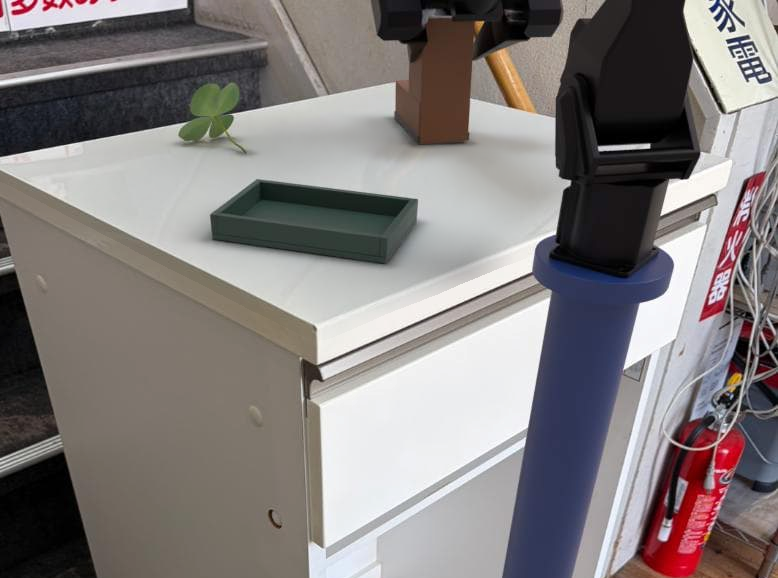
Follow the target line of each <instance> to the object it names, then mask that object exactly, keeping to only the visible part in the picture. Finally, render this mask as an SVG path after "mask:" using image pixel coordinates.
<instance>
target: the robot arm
mask: <svg viewBox="0 0 778 578" xmlns="http://www.w3.org/2000/svg"><path fill="white" fill-rule="evenodd" d="M370 4H371V10H372V15H373V21H374V26H375V27H374V28H375V32H376V36H377V37H378V38H379V39H380V40H382V41H383V42H391V41H393V42H394V41H395V42H397V41H398V42H399V43H400V44H401V45H406V49H407V51H406V52H407V57H408V63H409V62H410V63H413V62H414V61H415V60H416V59H417V58H418V56H419V55H420V53H421V52H422V50H423V49H424V47H425V46H426V44H427V43H428V38H427V32H426V26H425V25H426V23H427V22H428V19H430V18H452V21H453V22H475V23H476V22H483V23H482V25H481V26H480V29H479V31H478V33H477V35H476V37H475V38H474V44H473V60H472V62H475V61H476V62H477V61H478V60H481V59H483V58H485V57H487V56H490V55H491V54H494V53H497V52H498V51H499V52H500V51H501V50H504V49H507V48H508V47H511V46H514V45H516V44H519V43H523V42H524V43H525V42H529V41H530V39H531V38H533V39H534V38H552V37H553V36H554V34H555V33H556V31H557V30H558V28H559V27H560V25H561V24H562V22H563V18H564V12H565V11H564V5H563V4H564V3H563V0H370ZM685 6H686V0H604V1H603V2H602V4H601V5H600V6H599V8H598V9H597V11H596V12H595V13H594V14H593V16H592V17H588V18H587V17H586V18H584V17H583V18H582V17H581V18H578V19H577V20H576V21H575V23H574V24H573V27H572V29H571V31H570V34H569V41H568V49H567V54H566V60H565V64H564V68H563V71H562V74H561V76H560V79H559V83H560V85H559V87H558V90H557V94H556V96H555V116H554V117H555V119H554V121H555V122H554V123H555V124H554V125H555V128H554V129H555V132H554V157H555V168H556V169H557V170H558V178H560V179H561V180H566V181H570V185H568V186H566V187H565V188H564V189H562V190H563V191H562V195H561V201H560V207H559V212H558V213H559V214H558V218H557V225H556V231H555V235H556V236H555V241H556V243H557V244H560V245H558V246H557V247H555V248H554V249H552V250H550V254H549V257H550V258H551V259H554V260H558V261H561V262H565V263H569V264H572V265H576V266H579V267H583V268H586V269H590V270H594V271H597V272H601V273H604V274H608V275H612V276H615V277H619V278H625V279H626V278H629V277H631V276H632V275H633V274H634V273H636V272H637V271H638V270H640V269H641V268H642V267H644V266H645V265H646V264H647V263H649V262H650V261H651V260H653V259H654V258H655V257H657V256H658V253H659V249H658V248H656V247H653V245H655V244H654V243H655V241H656V240H655V239H656V236H657V232H658V227H659V223H660V219H661V215H662V211H663V207H664V203H665V199H666V196H667V191H668V187H669V183H670V180H680V181H685V180H689V179H690V177H691V175H692V173H693V172H694V170H695V169H696V166H697V164H698V162H699V160H700V158H701V154H702V153H701V147H700V142H699V137H698V133H697V128H696V123H695V119H694V114H693V109H692V105H691V101H690V95H689V91H688V89H689V84H690V79H691V76H692V75H691V74H692V69H693V64H694V51H693V47H692V43H691V38H690V34H689V29H688V25H687V20H686V16H685ZM636 145H637V146H638V145H649V148H648V147H647V148H632V149H631V148H630V149H615V150H614V149H613V150H599V147H617V146H619V147H620V146H636Z"/></svg>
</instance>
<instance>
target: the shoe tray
mask: <svg viewBox="0 0 778 578" xmlns="http://www.w3.org/2000/svg"><path fill="white" fill-rule="evenodd" d="M418 207H419V199H418V198H413V197H404V196H398V195H388V194H380V193H375V192H374V193H372V192H365V191H356V190H349V189H342V188H333V187H325V186H317V185H309V184H300V183H293V182H285V181H276V180H268V179H262V178H261V179H259V178H256V179H255V180H254V181H252V182H251V183H250V184H248V185H247V186H245V187H244V188H243V189H242V190H241V191H239V192H238V193H236V194H235V195H234V196H232V197H231V198H229V199H228V200H227V201H225V203H223V204H222V205H220V206H219V207H218V208H217V209H215V210H214V211H212V212H211V213H210V214H209V219H210V231H211V238H212V239H211V240H215V241H216V240H217V241H223V242H229V243H237V244H244V245H252V246H258V247H265V248H274V249H279V250H280V249H281V250H287V251H288V250H289V251H293V252H300V253H307V254H316V255H323V256H329V257H337V258H343V259H351V260H357V261H363V262H364V261H365V262H370V263H371V262H372V263H379V264H387V263H388V262H389V261H390V260H391V258H392V257H393V255H394V254H395V252H396V251H397V250H398V249H399V248H400V245H401V244H402V243H403V242H404V240H405V239H406V238H407V236H408V235H409V234H410V232H411V231H412V229H414V227H415V226H416V224H417V222H418Z"/></svg>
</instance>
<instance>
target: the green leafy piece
mask: <svg viewBox="0 0 778 578" xmlns="http://www.w3.org/2000/svg"><path fill="white" fill-rule="evenodd" d="M239 99H240V87H239V85H238V84H237V83H236V82H233V81H231V82H229V83H227V84H226V85H225V87H223V88H222V89H221V87H220V85H218V84H216V83H205V84H204V85H202V86H200V87H199V88H198V89H197V90H196V91H195V92H194V93H193V96H192V99H191V100H190V105H189V111H190V113H191V114H192V115H193V116H195V118H194V119H192V120H190V121H188V122H187V123H185V124H184V125H183V126H182V127H181V128H180V129H179V131H178V134H177V136H178V137H179V138H180V139H181V140H183V141H186V142H190V141H192V142H195V141H196V142H197V141H199V140H201V139H202V138H204V137H205V135H206V134H207V132H208V137H209V138H210V139H216V138H218V137H221V136H222V135H223V134H224V133H225V135H226V136H227V139H229V141H230V142H231V143H232V144H234V145H235V146H236V147H238V148H239V149H240V150H242V152H243V153H244V154H245V155H247V153H248V152H247V151H246V149H245V148H244V147H243V146H242V145H240V144H238V143H237V142H236V141H235V140H233V138H232V137H231V136H230V134H229V132H228V130H229V129H230V128H231V126H232V125H233V122H234V120H235V116H234V115H233V114H231V113H230V114H225V113H228V112H230V111H232V110H233V109H234V108H235V107H236V106H237V105H238V103H239Z"/></svg>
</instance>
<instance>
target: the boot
mask: <svg viewBox="0 0 778 578" xmlns="http://www.w3.org/2000/svg"><path fill="white" fill-rule="evenodd" d="M475 24H476V22H453V21H452V18H430V19H428V22H427V23H426V25H425V26H426V32H427V38H428V43H427V44H426V46H425V47H424V49H423V50H422V52H421V53H420V55H419V56H418V58H417V59H416V60H415V61H414V62H413V63H410V62H409V61H408V79H404V80H396V81H395V104H394V105H395V107H394V108H395V110H394V111H393V113H394V114H393V119H395V121H396V122H397V123H398V124H399V125H400V126H401V128H402V129H404V131H405V132H406V133H407V134H408V135H409V136H410V137H411V138H412V140H414V142H416V145H428V144H429V145H430V144H442V143H443V144H445V143H458V142H460V143H461V142H468V141H470V132H469V127H470V110H471V93H472V92H471V91H472V74H473V61H472V60H473V44H474V41H475V26H476V25H475Z"/></svg>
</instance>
